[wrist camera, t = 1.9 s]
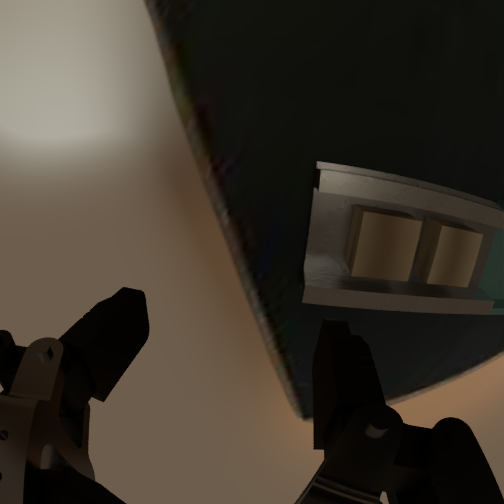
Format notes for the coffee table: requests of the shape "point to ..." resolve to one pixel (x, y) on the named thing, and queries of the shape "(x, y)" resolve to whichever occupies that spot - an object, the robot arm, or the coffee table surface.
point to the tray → (495, 270)
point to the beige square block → (382, 243)
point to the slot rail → (416, 289)
